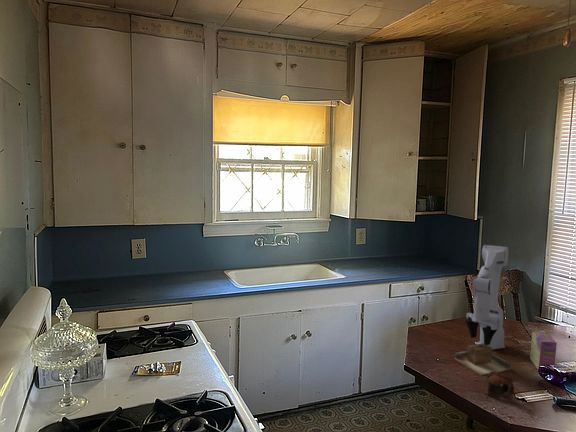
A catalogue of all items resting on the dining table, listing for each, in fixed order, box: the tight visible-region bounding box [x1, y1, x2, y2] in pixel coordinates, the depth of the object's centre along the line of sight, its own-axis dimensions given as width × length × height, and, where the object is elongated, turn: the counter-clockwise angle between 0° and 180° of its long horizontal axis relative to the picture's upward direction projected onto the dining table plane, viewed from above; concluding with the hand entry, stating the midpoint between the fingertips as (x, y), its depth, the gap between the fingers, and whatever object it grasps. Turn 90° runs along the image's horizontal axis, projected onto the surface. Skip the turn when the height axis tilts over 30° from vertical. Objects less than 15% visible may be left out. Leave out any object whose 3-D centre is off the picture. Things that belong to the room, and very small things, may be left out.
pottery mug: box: [484, 372, 515, 400], centre depth 156 cm, size 12×10×8 cm
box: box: [529, 331, 558, 370], centre depth 178 cm, size 10×6×12 cm, turn 168°
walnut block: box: [466, 343, 493, 365], centre depth 181 cm, size 4×8×6 cm, turn 109°
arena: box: [453, 350, 511, 376], centre depth 180 cm, size 14×15×3 cm
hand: (480, 340), depth 180 cm, fingers open, 7 cm apart
